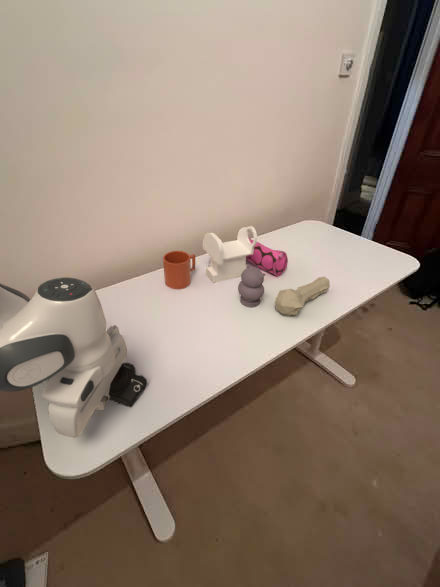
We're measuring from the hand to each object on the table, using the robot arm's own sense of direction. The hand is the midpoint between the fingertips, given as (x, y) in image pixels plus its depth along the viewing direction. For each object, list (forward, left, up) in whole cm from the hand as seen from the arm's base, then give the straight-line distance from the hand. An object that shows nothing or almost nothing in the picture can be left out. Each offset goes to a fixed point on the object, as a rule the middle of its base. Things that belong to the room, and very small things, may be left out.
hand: (102, 403), depth 62 cm
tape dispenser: (+56, +21, -3) cm, 60 cm away
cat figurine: (+51, +6, -3) cm, 52 cm away
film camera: (+5, +4, -3) cm, 7 cm away
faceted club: (+64, -6, -3) cm, 65 cm away
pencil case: (+70, +19, -3) cm, 73 cm away
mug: (+42, +29, -3) cm, 51 cm away
